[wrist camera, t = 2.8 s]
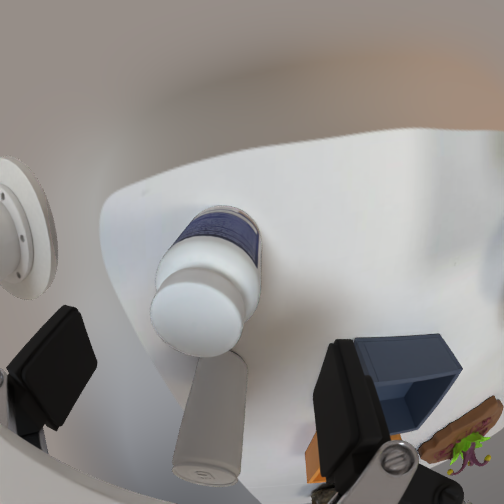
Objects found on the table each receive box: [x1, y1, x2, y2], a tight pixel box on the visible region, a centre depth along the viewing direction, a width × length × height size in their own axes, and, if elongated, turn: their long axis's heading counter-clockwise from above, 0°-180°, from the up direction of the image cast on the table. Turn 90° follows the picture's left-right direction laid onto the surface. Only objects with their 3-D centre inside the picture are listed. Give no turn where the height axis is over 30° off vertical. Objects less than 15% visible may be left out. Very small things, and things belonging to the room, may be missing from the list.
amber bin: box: [305, 431, 402, 483], centre depth 28 cm, size 10×10×6 cm
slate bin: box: [354, 334, 463, 436], centre depth 22 cm, size 10×10×6 cm
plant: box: [418, 396, 503, 475], centre depth 28 cm, size 20×20×11 cm
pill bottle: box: [150, 206, 262, 357], centre depth 15 cm, size 5×5×10 cm
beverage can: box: [172, 351, 248, 487], centre depth 19 cm, size 5×5×12 cm
